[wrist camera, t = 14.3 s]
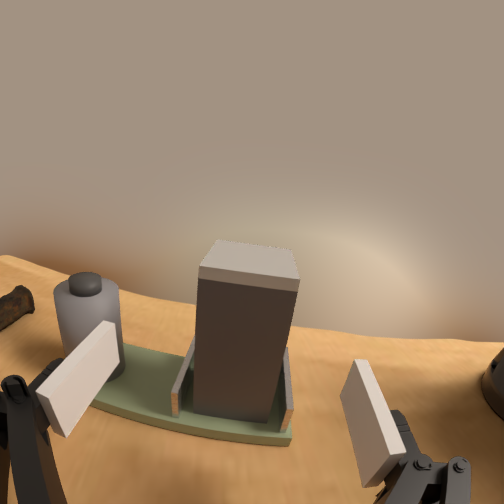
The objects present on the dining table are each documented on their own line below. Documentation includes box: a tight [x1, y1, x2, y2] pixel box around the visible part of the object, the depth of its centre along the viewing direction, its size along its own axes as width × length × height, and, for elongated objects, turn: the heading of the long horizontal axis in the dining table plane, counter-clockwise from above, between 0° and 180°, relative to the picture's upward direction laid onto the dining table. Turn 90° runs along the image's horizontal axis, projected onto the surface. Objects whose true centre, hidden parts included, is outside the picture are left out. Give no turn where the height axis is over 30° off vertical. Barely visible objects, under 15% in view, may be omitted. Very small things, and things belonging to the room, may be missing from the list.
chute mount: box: [171, 336, 294, 433], centre depth 23 cm, size 9×8×3 cm
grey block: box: [193, 240, 300, 424], centre depth 22 cm, size 6×7×13 cm
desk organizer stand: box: [53, 272, 292, 446], centre depth 22 cm, size 22×9×10 cm, turn 87°
